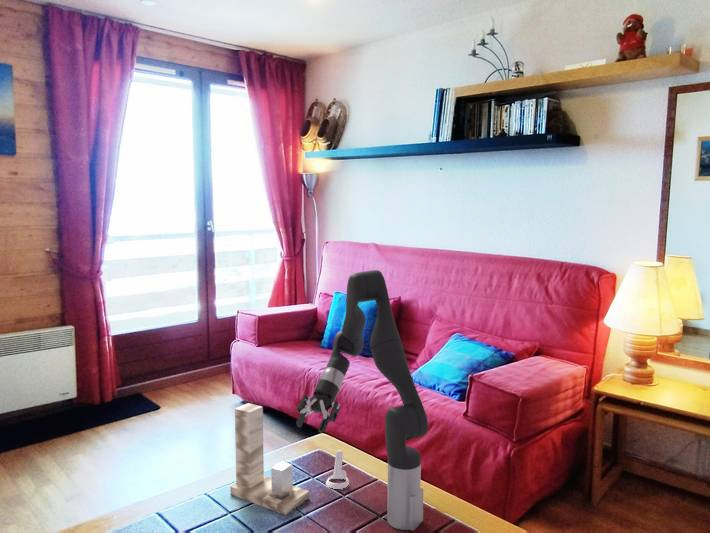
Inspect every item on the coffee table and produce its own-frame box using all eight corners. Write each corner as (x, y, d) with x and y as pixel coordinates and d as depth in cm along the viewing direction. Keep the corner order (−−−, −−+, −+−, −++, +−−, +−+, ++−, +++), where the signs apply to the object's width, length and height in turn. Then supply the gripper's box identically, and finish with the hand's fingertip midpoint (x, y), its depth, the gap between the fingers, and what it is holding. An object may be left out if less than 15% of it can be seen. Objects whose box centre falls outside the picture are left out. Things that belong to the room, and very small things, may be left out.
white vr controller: (347, 456, 186) (353, 451, 181) (345, 494, 180) (351, 491, 174) (326, 453, 185) (331, 449, 179) (323, 491, 178) (328, 488, 173)
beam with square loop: (309, 498, 168) (308, 414, 166) (285, 515, 159) (284, 425, 157) (255, 480, 180) (253, 400, 178) (230, 494, 171) (228, 411, 168)
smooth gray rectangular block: (292, 499, 168) (292, 464, 167) (282, 506, 164) (281, 470, 163) (282, 495, 170) (282, 461, 169) (271, 502, 166) (271, 467, 165)
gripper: (307, 375, 186) (286, 419, 177) (342, 381, 178) (322, 427, 169) (317, 386, 190) (296, 429, 182) (351, 393, 183) (332, 438, 174)
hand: (309, 428), depth 176 cm, fingers open, 8 cm apart
